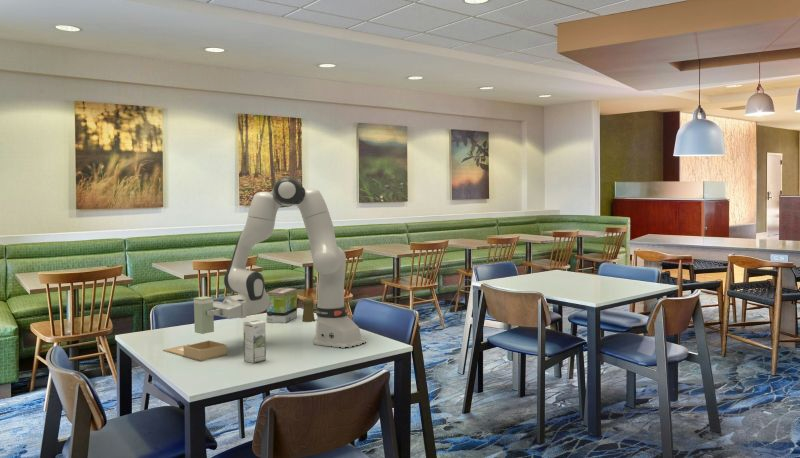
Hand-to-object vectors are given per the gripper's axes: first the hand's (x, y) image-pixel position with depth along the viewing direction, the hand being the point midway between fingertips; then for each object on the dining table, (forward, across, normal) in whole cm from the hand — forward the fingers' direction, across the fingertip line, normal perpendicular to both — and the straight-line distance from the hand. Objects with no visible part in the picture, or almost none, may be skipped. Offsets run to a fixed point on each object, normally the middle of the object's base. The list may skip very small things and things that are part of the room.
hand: (201, 312), depth 232 cm
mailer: (-1, -7, +17) cm, 18 cm away
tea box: (-63, -29, +17) cm, 71 cm away
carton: (-1, 0, +8) cm, 8 cm away
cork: (-69, -17, +17) cm, 73 cm away
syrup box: (-8, +21, +17) cm, 28 cm away
